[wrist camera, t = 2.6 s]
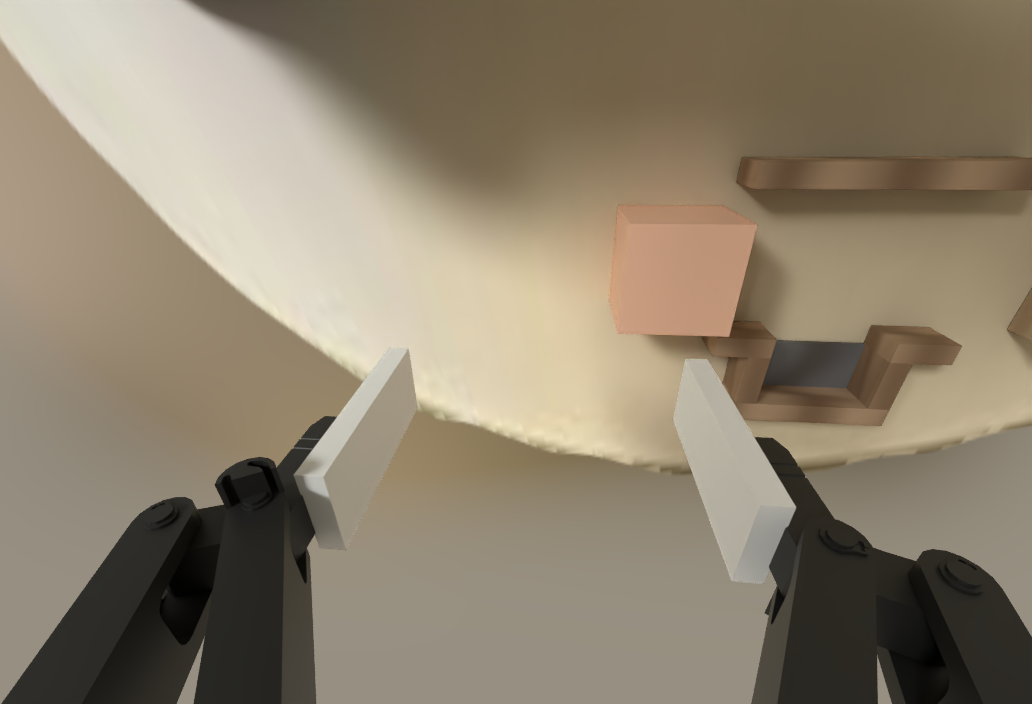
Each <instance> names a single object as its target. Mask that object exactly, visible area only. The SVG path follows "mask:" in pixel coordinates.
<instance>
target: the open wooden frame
mask: <svg viewBox="0 0 1032 704" xmlns="http://www.w3.org/2000/svg"><path fill="white" fill-rule="evenodd" d="M737 183H739V184H742V185H745V186H747V187H750V188H753V189H889V190H1032V158H1025V157H742V159H741V164H740V168H739V173H738V177H737ZM1007 330H1009V331H1011V332H1013V333H1015V334H1017V335H1020V336H1022V337H1024V338H1026V339H1028V340H1030V341H1032V289H1031V291H1030V292H1029V294H1028V296H1027V297H1026V299H1025V301H1024V302H1023V304H1022V305H1021V307H1020V309H1019V310H1018V312H1017V314H1016V315H1015V317H1014V319H1013V320H1012V322H1011V324H1010V325H1009V327H1008V329H1007ZM702 339H703V341H704V343H705V344H706V346H707V347H708V349H709V350H710V352H711V354H712V355H713V356H716V357H730V358H729V361H728V365H727V369H726V373H725V376H724V380H723V386H724V387H725V389H726V391H727V393H728V394H729V396H730V398H731V399H732V401H733V403H734V404H735V406H736V408H737V409H738V411H739V413H740V414H741V416H742V418H743V419H750V420H770V421H790V422H811V423H831V424H851V425H872V426H881V425H882V423H883V422H884V420H885V418H886V416H887V414H888V412H889V410H890V408H891V406H892V404H893V402H894V400H895V398H896V396H897V394H898V392H899V390H900V388H901V386H902V384H903V382H904V380H905V378H906V376H907V374H908V372H909V370H910V368H911V366H912V364H933V365H952V364H953V362H954V360H955V358H956V356H957V355H958V353H959V351H960V349H961V348H962V346H961V345H959V344H958V343H956V342H954V341H952V340H951V339H949V338H947V337H945V336H944V335H942V334H940V333H938V332H937V331H935V330H933V329H931V328H930V327H907V326H874V325H871V327H870V330H869V332H868V334H867V337H866V339H865V341H864V343H843V342H813V341H783V340H776V339H775V338H774V337H773V336H772V335H771V334H770V332H769V331H768V330H767V329H766V328H765V327H764V326H763V325H762V324H761V323H760V322H739V321H733V324H732V327H731V331H730V335H729V337H722V336H702Z"/></svg>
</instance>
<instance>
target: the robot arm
mask: <svg viewBox="0 0 1032 704" xmlns="http://www.w3.org/2000/svg"><path fill="white" fill-rule="evenodd" d="M416 410H417V401H416V394H415V388H414V381H413V375H412V368H411V361H410V355H409V349H405V348H389V349H388V350H387V351H386V353H385V354H384V355H383V357H382V358H381V359H380V361H379V362H378V363H377V365H376V366H375V367H374V369H373V370H372V371H371V373H370V374H369V375H368V377H367V378H366V379H365V381H364V382H363V383H362V385H361V386H360V387H359V389H358V390H357V391H356V393H355V394H354V395H353V397H352V398H351V399H350V401H349V402H348V403H347V405H346V406H345V407H344V409H343V410H342V411H341V413H340V414H339V415H338V417H331V416H325V417H323V418H322V419H320V420H319V421H317V422H316V423H315V424H313V425H311V426H310V427H309V429H308V430H307V431H306V432H305V434H304V435H303V436H302V437H301V438H302V439H301V440H299V441H298V442H297V444H296V445H295V446H294V449H292V450H291V451H290V452H289V453H288V454H287V456H286V457H285V458H284V459H283V461H282V462H281V463H280V464H279V465H278V467H277V468H276V465H275V463H274V461H272V460H271V459H269V458H263V457H258V458H251V459H246V460H244V461H241V462H238V463H236V464H234V465H233V466H231V467H229V468H228V469H226V470H225V471H224V472H223V473H222V474H221V475H220V476H219V477H218V479H217V481H216V483H215V486H216V488H217V491H218V493H219V495H220V497H221V499H222V501H223V503H224V505H220V506H214V507H209V508H203V509H198V510H197V508H196V507H195V505H194V503H193V501H192V500H191V499H188V498H186V497H175V498H171V499H167V500H163V501H161V502H159V503H157V504H154V505H152V506H151V507H149V508H148V509H146V510H145V511H143V512H142V513H140V514H139V515H138V516H137V517H136V518H135V519H134V520H133V521H132V523H131V524H130V525H129V527H128V528H127V530H126V531H125V532H124V534H123V535H122V536H121V538H120V539H119V541H118V542H117V543H116V545H115V546H114V548H113V549H112V550H111V552H110V553H109V555H108V556H107V557H106V559H105V560H104V561H103V563H102V564H101V566H100V567H99V568H98V570H97V571H96V573H95V574H94V575H93V577H92V578H91V580H90V581H89V582H88V584H87V585H86V587H85V588H84V590H83V591H82V592H81V594H80V595H79V596H78V598H77V599H76V601H75V602H74V603H73V605H72V606H71V608H70V609H69V610H68V612H67V613H66V614H65V616H64V617H63V619H62V620H61V622H60V623H59V624H58V626H57V627H56V628H55V630H54V631H53V633H52V634H51V636H50V637H49V638H48V640H47V641H46V642H45V644H44V645H43V647H42V648H41V649H40V651H39V652H38V654H37V655H36V657H35V658H34V659H33V661H32V662H31V663H30V665H29V666H28V668H27V669H26V670H25V672H24V673H23V674H22V676H21V677H20V679H19V680H18V681H17V683H16V684H15V686H14V687H13V689H12V690H11V691H10V693H9V694H8V695H7V697H6V698H5V700H4V701H3V702H2V704H177V701H178V699H179V696H180V694H181V692H182V689H183V687H184V684H185V682H186V679H187V677H188V675H189V672H190V670H191V668H192V665H193V663H194V660H195V658H196V656H197V653H198V651H199V649H200V646H201V644H202V641H203V639H204V637H205V639H204V645H203V651H202V657H201V663H200V669H199V675H198V681H197V687H196V693H195V699H194V704H316V688H315V664H314V640H313V617H312V595H311V594H312V593H311V569H310V556H309V553H308V550H307V546H308V544H309V543H310V541H311V539H312V538H313V536H314V535H315V536H316V539H317V542H318V545H319V548H324V549H337V550H346V549H347V548H348V546H349V544H350V541H351V539H352V537H353V536H354V534H355V531H356V529H357V528H358V525H359V524H360V522H361V520H362V518H363V516H364V514H365V512H366V510H367V507H368V506H369V503H370V501H371V500H372V498H373V495H374V493H375V492H376V490H377V487H378V486H379V484H380V482H381V479H382V478H383V476H384V473H385V471H386V469H387V467H388V466H389V463H390V462H391V460H392V458H393V455H394V454H395V452H396V450H397V447H398V446H399V444H400V442H401V440H402V437H403V436H404V433H405V432H406V430H407V427H408V426H409V424H410V422H411V420H412V418H413V416H414V414H415V412H416ZM673 422H674V424H675V427H676V430H677V433H678V435H679V438H680V441H681V444H682V446H683V449H684V452H685V454H686V457H687V460H688V463H689V465H690V468H691V471H692V474H693V476H694V479H695V482H696V485H697V487H698V490H699V493H700V495H701V498H702V501H703V504H704V507H705V509H706V512H707V515H708V518H709V520H710V523H711V526H712V529H713V531H714V534H715V537H716V540H717V542H718V545H719V548H720V550H721V553H722V556H723V559H724V562H725V564H726V567H727V570H728V573H729V575H730V578H731V581H734V582H748V583H759V584H763V583H764V581H765V578H766V576H767V573H768V572H769V569H770V570H771V572H772V575H773V577H774V579H775V581H776V583H777V587H776V589H775V592H774V594H773V596H772V598H771V600H770V602H769V605H768V607H767V609H766V611H765V614H767V615H769V618H768V623H767V627H766V633H765V638H764V643H763V648H762V653H761V658H760V663H759V668H758V673H757V678H756V683H755V688H754V694H753V698H752V703H751V704H878V694H877V693H878V692H877V655H878V658H879V662H880V665H881V668H882V672H883V675H884V678H885V682H886V685H887V688H888V692H889V695H890V698H891V701H892V704H1032V637H1031V635H1030V634H1029V632H1028V631H1027V629H1026V627H1025V625H1024V624H1023V622H1022V620H1021V619H1020V617H1019V615H1018V614H1017V612H1016V610H1015V609H1014V607H1013V605H1012V604H1011V602H1010V601H1009V599H1008V597H1007V596H1006V594H1005V593H1004V591H1003V589H1002V588H1001V587H1000V585H999V584H998V583H997V582H996V581H995V580H994V578H993V577H992V576H990V575H989V574H988V573H987V572H985V571H984V570H983V569H982V568H980V567H979V566H978V565H975V564H974V563H972V562H971V561H969V560H967V559H965V558H963V557H961V556H958V555H956V554H953V553H950V552H948V551H943V550H935V549H931V550H927V551H923V552H922V554H921V555H920V556H919V558H918V559H917V561H913V560H910V559H907V558H903V557H900V556H897V555H894V554H891V553H887V552H884V551H881V550H878V549H876V548H873V547H872V545H871V544H870V543H869V542H868V540H867V539H866V538H865V537H864V536H863V535H862V534H861V533H859V532H858V531H857V530H856V529H854V528H853V527H851V526H849V525H847V524H845V523H843V522H841V521H839V520H835V519H834V518H833V516H832V515H831V513H830V512H829V510H828V509H827V507H826V506H825V504H824V503H823V501H822V500H821V498H820V497H819V496H818V494H817V492H816V491H815V489H814V488H813V487H812V485H811V484H810V482H809V481H808V479H807V478H805V475H804V473H803V472H802V470H801V469H800V467H798V466H797V463H796V461H795V460H794V458H793V457H792V455H791V454H790V452H789V451H788V450H787V449H786V448H784V447H783V446H782V445H781V444H779V443H778V442H777V441H776V440H774V439H773V438H761V437H754V436H753V434H752V433H751V431H750V429H749V428H748V426H747V424H746V423H745V421H744V419H743V418H742V416H741V414H740V413H739V411H738V409H737V408H736V406H735V404H734V403H733V401H732V399H731V398H730V396H729V394H728V393H727V391H726V389H725V387H724V386H723V384H722V382H721V381H720V379H719V377H718V376H717V374H716V372H715V371H714V369H713V367H712V366H711V364H710V362H709V361H708V359H685V364H684V369H683V374H682V378H681V383H680V388H679V393H678V398H677V403H676V407H675V412H674V417H673Z"/></svg>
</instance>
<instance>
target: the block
mask: <svg viewBox="0 0 1032 704" xmlns="http://www.w3.org/2000/svg"><path fill="white" fill-rule="evenodd" d="M756 229H757V224H755V223H754V222H752V221H750V220H748V219H746V218H744V217H743V216H741V215H739V214H737V213H735V212H734V211H732V210H730V209H728V208H726V207H725V206H685V205H618V212H617V222H616V232H615V242H614V253H613V263H612V273H611V284H610V294H609V302H610V306H611V310H612V314H613V318H614V322H615V325H616V329H617V333H618V334H653V335H687V336H722V337H729V335H730V331H731V327H732V324H733V320H734V316H735V312H736V308H737V304H738V300H739V296H740V292H741V288H742V284H743V280H744V276H745V272H746V268H747V265H748V261H749V257H750V253H751V249H752V245H753V241H754V237H755V233H756Z"/></svg>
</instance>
